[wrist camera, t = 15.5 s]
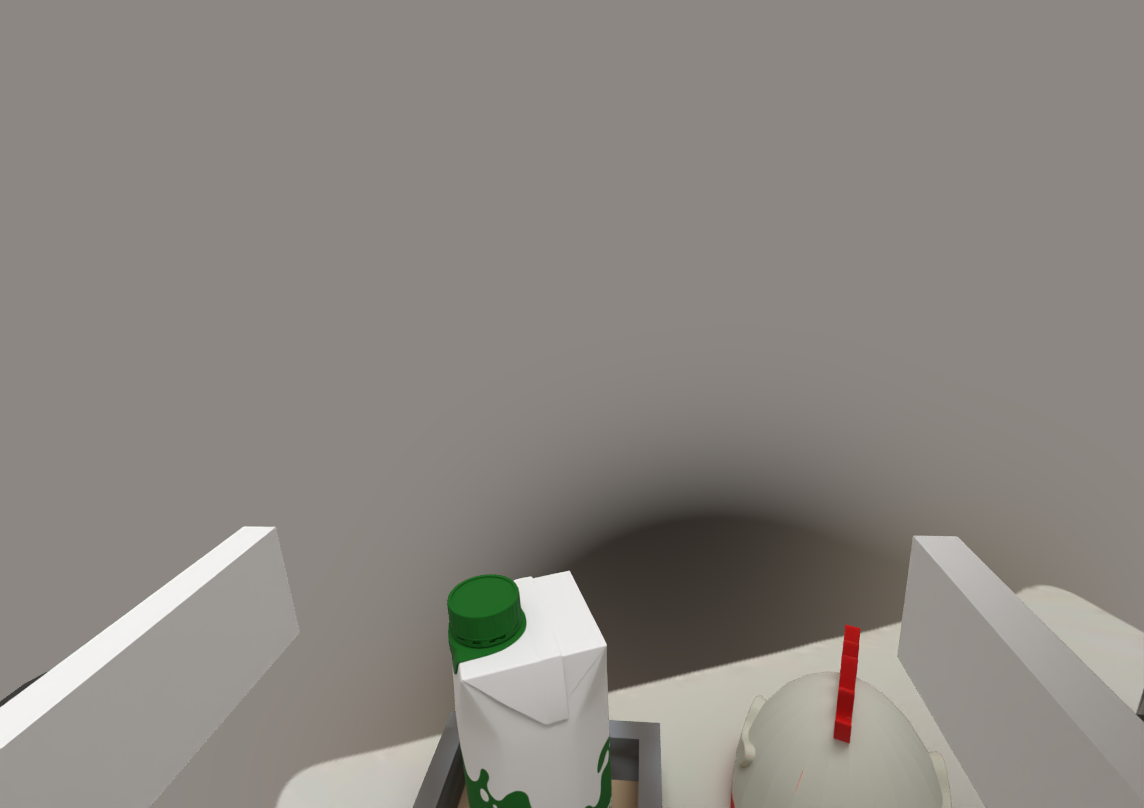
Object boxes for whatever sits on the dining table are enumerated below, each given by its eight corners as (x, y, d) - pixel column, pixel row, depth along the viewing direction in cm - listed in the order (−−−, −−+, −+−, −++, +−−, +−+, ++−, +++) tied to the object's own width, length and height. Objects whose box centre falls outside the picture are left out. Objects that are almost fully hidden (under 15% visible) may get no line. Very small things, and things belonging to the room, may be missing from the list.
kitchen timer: (941, 783, 43) (971, 613, 39) (959, 991, 31) (1003, 784, 27) (751, 718, 49) (758, 567, 45) (708, 872, 38) (712, 689, 34)
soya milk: (470, 804, 41) (435, 561, 35) (589, 768, 43) (575, 534, 38) (486, 943, 33) (445, 657, 27) (632, 890, 35) (623, 615, 29)
